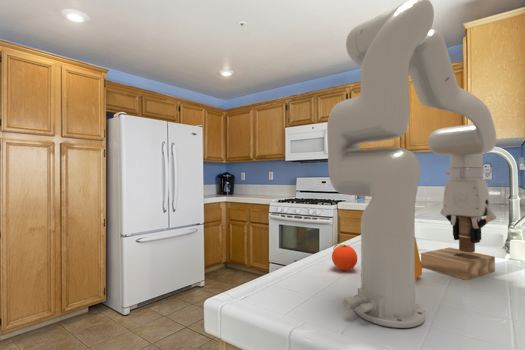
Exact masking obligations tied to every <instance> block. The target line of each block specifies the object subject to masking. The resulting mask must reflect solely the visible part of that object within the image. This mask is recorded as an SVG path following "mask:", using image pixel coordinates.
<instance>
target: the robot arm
mask: <svg viewBox="0 0 525 350" xmlns="http://www.w3.org/2000/svg"><path fill="white" fill-rule="evenodd" d="M434 13H435V10H434V6H433V4H432V2H431V0H407V1H405V2H403V3H401V4H398V5H397V6H394V7H392V8H391V9H388V10H386V11H384V12H382V13H380V14H378V15H376V16H374V17H372V18H370V19H368V20H366V21H364V22H361V23H360V24H358V25H357V26H355V27H353V28H352V29H351V30H350V31H349V33H348V35H347V37H346V43H345V46H346V52H347V54H348V56H349V58H350V59H351V60H352V61H353V63H354V64H355V65H357V66H359V67H360V68H361V69H360V93H359V95H358V96H356V97H352V98H346V99H345V100H344V99H343V100H342V101H339V102H337V104H335V105H334V106H333V108H332V109H331V110H330V113H329V116H328V118H327V127H326V129H327V130H326V135H327V136H326V137H327V139H326V140H327V165H328V166H327V167H328V175H329V181H330V184H331V186H332V187H333V189H334V190H335V191H336V192H337V193H339V194H342V195H346V196H356V197H357V196H360V197H369V198H370V197H371V199H370V201H369V202H368V203H367V205H366V207H365V208H364V210H363V213H362V215H361V218H360V252H361V255H360V260H361V261H360V262H361V263H360V267H361V269H360V270H361V272H360V274H361V277H360V278H361V285H360V286H361V287H358V288H357V294H355V295H354V297H347V298H344V299H343V301H342V306H343V308H344V309H345V310H347V311H350V310H354V312H355V313H356V314H357V315H358V316H359V317H360V318H362V319H364V320H366V321H368V322H370V323H373V324H375V325H379V326H385V327H388V328H389V327H390V328H398V329H399V328H401V329H405V328H414V327H415V328H416V327H418V326H420V325H421V324H423V323H424V321H425V320H426V319H425V318H426V317H425V315H426V313H425V311H424V309H423V308H422V307H421V305H419V304H418V303H416V281H415V238H416V236H415V235H416V234H415V221H416V219H415V217H416V216H415V213H416V200H417V193H418V188H419V183H420V177H421V165H420V164H421V163H420V161H419V159H418V157H417V155H416V154H415V153H414V152H413V151H410V150H408V149H406V148H403V147H396V146H395V147H394V146H391V147H389V146H387V147H377V148H367V149H361V144H365V143H367V144H369V143H376V142H382V141H383V142H384V141H391V140H394V139H398V138H401V137H402V136H404V135H405V134H406V133H407V131H408V129H409V125H410V85H409V84H410V83H409V82H410V80H411V83H412V85H413V86H412V87H413V89H414V91H415V93H416V96H417V98H418V101H419V103H420V104H421V105H423V106H425V107H428V108H431V109H437V110H442V111H446V112H451V113H455V114H458V115H460V116H463V117H464V118H466V119H468V120H469V122H471V124H464V125H455V126H448V127H442V128H441V127H440V128H438V129H436V130H434V131H432V132H431V134H430V135H429V137H428V139H427V141H428V142H427V145H428V149H429V150H430V151H431V152H432V154H434V155H436V156H439V157H449V169H448V170H446V171H445V175H446V176H448V177H449V179H446V180H445V181H446V182H445V186H444V191H443V199H442V200H443V201H442V209H441V210H440V212H439V213H440V214H441V215H442V216H443V217H444V218H446V219H447V220H448V221H449V224H450V226H452V236H453V240H454V241H459V216H466V217H471V219H472V224H473V228H471V242H472V243H475V244H478V243H480V242H481V241H482V228H484V226H486V225H487V224H488V223H491V222H493V221H495V220H496V219H497V216H496V215H495V213H494V212H493V211H492V209H491V205H490V203H491V202H490V193H489V188H488V184H487V181H486V179H484V178H483V177H484V161H483V159H484V158H483V157H484V156H483V154H487V153H490V152H491V151H493V149H494V148H495V147H496V144H497V133H496V131H497V130H496V128H495V123H494V121H493V116H492V113H491V110H490V109H489V107H488V106H487V105H486V103H484V101H482V100H481V99H480V98H478V97H477V95H474V94H473V93H471V92H469V91H468V90H467V89H464V88H462V87H460V85H459V84H458V80H457V78H456V74H455V72H454V68H453V65H452V61H451V57H450V54H449V51H448V47H447V45H446V41H445V38H444V36H443V35H442V33H441V32H440V31H439V30H437V29H433V28H432V26H433V23H434V17H435V15H434ZM409 77H410V78H409ZM409 79H410V80H409ZM483 217H484V218H483Z"/></svg>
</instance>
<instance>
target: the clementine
mask: <svg viewBox="0 0 525 350" xmlns="http://www.w3.org/2000/svg"><path fill="white" fill-rule="evenodd" d="M331 259H332V263H333V265H334V266H335V267H336V268H337V269H338V270H341V271H350V270H352V269H353V268H355V267H356V265H357V263H358V254H357V252H356V250H355V248H353V247H352V246H350V245H348V244H340V243H339V244H336V245H335V246H334V247H333V250H332V253H331Z"/></svg>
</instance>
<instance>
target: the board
mask: <svg viewBox="0 0 525 350" xmlns="http://www.w3.org/2000/svg"><path fill="white" fill-rule="evenodd" d="M495 257H496V256H494V255H493V256H492V255H489V254H484V253H479V252H476V251H475V252H465V251H461V250H459V248H454V247H446V248H441V249H436V250H435V249H434V250H430V251H423V252H421V253H420V261H421V266H422V269H423V268H424V269H427V270H430V271H433V272H437V273H441V274H444V275H447V276H451V277H454V278H458V279H462V280H470V279H474V278H476V277H481V276H484V275H488V274H490V273H494V272H495V271H496V258H495Z"/></svg>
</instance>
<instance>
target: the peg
mask: <svg viewBox="0 0 525 350" xmlns="http://www.w3.org/2000/svg"><path fill="white" fill-rule="evenodd" d="M471 228H473V224H472V219H471V217H466V216H459V240H458V249H459V250H461V251H465V252H475V253H476V243H472V242H471Z"/></svg>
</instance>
